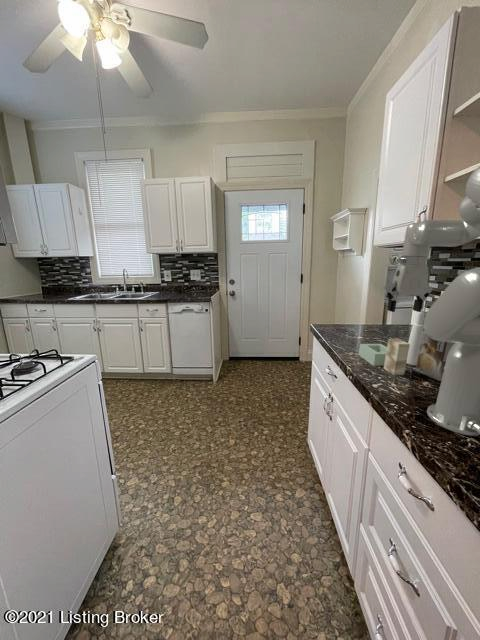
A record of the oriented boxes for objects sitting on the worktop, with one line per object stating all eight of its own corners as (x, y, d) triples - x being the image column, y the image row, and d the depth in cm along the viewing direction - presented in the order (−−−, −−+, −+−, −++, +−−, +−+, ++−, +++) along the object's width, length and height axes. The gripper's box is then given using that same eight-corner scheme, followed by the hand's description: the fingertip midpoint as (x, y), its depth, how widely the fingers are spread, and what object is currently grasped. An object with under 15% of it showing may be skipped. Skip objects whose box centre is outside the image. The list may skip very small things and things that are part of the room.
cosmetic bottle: (400, 358, 112) (409, 307, 106) (415, 360, 111) (426, 308, 106) (406, 364, 106) (416, 311, 101) (422, 366, 105) (434, 311, 100)
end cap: (396, 365, 105) (398, 353, 104) (373, 365, 104) (375, 353, 103) (379, 354, 116) (381, 343, 115) (358, 354, 116) (360, 343, 114)
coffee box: (451, 378, 95) (461, 335, 91) (439, 381, 93) (449, 337, 89) (425, 368, 103) (434, 328, 99) (414, 370, 101) (422, 330, 97)
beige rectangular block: (403, 375, 97) (409, 344, 94) (393, 375, 97) (399, 344, 94) (393, 368, 103) (398, 338, 100) (383, 368, 102) (388, 338, 99)
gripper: (396, 262, 85) (387, 313, 90) (446, 263, 87) (434, 313, 91) (382, 260, 92) (374, 308, 97) (428, 261, 94) (418, 308, 99)
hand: (403, 311), depth 94 cm, fingers open, 9 cm apart
